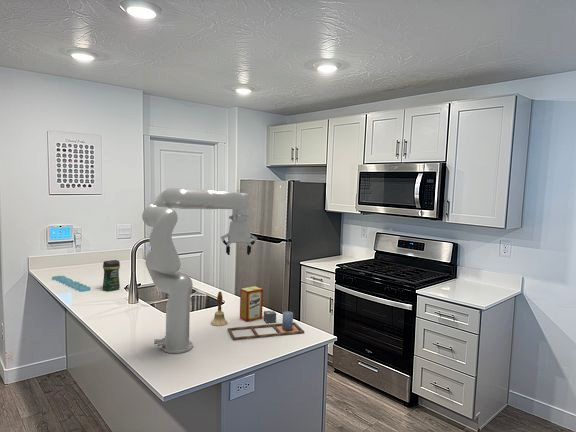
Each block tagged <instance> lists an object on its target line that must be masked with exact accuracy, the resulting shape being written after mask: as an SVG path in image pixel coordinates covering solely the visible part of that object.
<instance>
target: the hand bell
mask: <svg viewBox="0 0 576 432" xmlns="http://www.w3.org/2000/svg"><path fill="white" fill-rule="evenodd" d="M216 301H217V311H215V313H214V317H213V319H212V320H211V321H210V325H211V326H214V327H222V326H223V327H224V326H226V325H228V321H227V320H226V317H225V312H224V311H222V303H223V294H222V291H218V293H217V299H216Z"/></svg>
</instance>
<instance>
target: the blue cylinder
mask: <svg viewBox="0 0 576 432" xmlns="http://www.w3.org/2000/svg"><path fill="white" fill-rule="evenodd" d="M281 322H282V330H284V331H292V329H293V326H294V325H293V322H294V312H292V311H283V312H282V321H281Z"/></svg>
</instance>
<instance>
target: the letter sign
mask: <svg viewBox="0 0 576 432" xmlns="http://www.w3.org/2000/svg"><path fill="white" fill-rule="evenodd" d="M51 279H52V281H55V282H58V283H61V284H62V285H65V286H67V287H68V288H71V289H74V290H75V291H78V292H80V293H81V292H82V293H83V292H84V293H85V292H89V291H91V286H88V285H86V284H84V283H80V282H79V281H73V279H72V278H69V277H67V276H66V275H53V276H52V277H51Z"/></svg>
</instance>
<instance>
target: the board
mask: <svg viewBox="0 0 576 432" xmlns="http://www.w3.org/2000/svg"><path fill="white" fill-rule="evenodd" d="M264 328H265V329H266V328H272V329H274V331H275V332H276V333H275V332H274V333H266V334H265V333H264V334H259V333H258V332H257V330H256V329H264ZM241 330H242V331H243V330H251V332H252V333H253V334H254V335H246V336H235V335H234V333H233V332H234V331H241ZM232 331H233V332H232ZM227 333H229V336H230V337H231V340H232V341H243V340H252V339H261V338H262V339H263V338H271V337H280V336H282V337H283V336H292V335H301V334H302V335H303V334H305V330H304V329H302V327H300V325H298V323H296V322H295V321H293V329H292V331H284V330H282V323H281V322H280V323H270V324H260V325H259V324H258V325H248V326H238V327H237V326H236V327H227Z"/></svg>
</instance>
